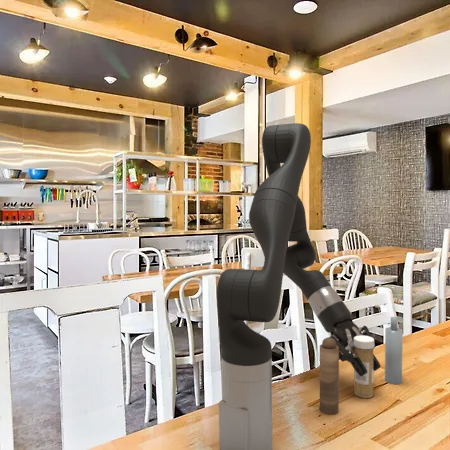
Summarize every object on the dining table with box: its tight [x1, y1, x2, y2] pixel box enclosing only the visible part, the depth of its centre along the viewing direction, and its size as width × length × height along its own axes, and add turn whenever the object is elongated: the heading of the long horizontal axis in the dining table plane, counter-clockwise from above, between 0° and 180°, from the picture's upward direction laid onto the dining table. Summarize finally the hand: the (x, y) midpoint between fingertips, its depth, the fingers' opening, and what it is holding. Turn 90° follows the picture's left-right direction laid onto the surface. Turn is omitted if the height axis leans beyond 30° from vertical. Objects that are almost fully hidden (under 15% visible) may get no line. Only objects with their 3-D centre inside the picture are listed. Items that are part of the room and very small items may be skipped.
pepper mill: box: [319, 336, 340, 416], centre depth 92 cm, size 4×4×16 cm
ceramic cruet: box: [384, 316, 404, 385], centre depth 106 cm, size 4×4×16 cm
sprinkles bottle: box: [353, 335, 375, 399], centre depth 99 cm, size 5×5×14 cm
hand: (370, 371), depth 98 cm, fingers closed on sprinkles bottle, 4 cm apart
